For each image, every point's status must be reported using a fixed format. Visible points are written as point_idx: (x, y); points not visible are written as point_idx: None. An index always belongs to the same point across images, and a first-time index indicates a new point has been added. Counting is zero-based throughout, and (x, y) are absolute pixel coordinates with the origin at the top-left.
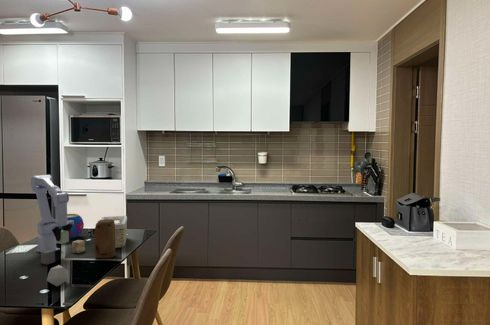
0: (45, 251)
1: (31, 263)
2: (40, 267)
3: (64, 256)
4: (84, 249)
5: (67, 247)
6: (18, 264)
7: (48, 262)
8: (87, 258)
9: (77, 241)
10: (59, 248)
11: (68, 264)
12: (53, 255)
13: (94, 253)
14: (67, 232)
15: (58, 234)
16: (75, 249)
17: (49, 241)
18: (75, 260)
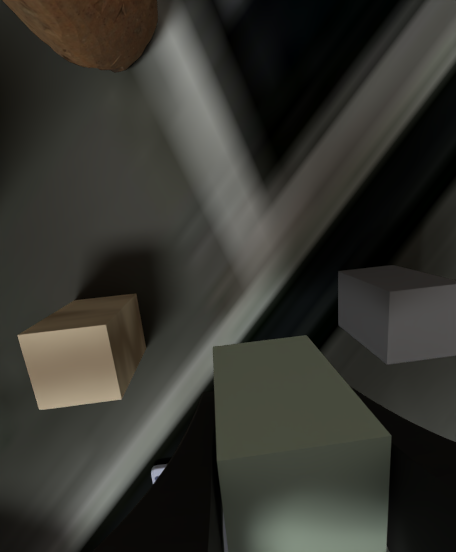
0: (437, 334)
1: (411, 365)
2: (449, 251)
3: (236, 313)
4: (72, 303)
5: (97, 466)
6: (444, 408)
7: (393, 268)
8: (187, 112)
9: (82, 369)
10: (153, 473)
11: (346, 128)
12: (376, 280)
13: (148, 16)
14: (241, 431)
15: (422, 429)
16: (135, 331)
17: (227, 549)
18: (262, 161)
